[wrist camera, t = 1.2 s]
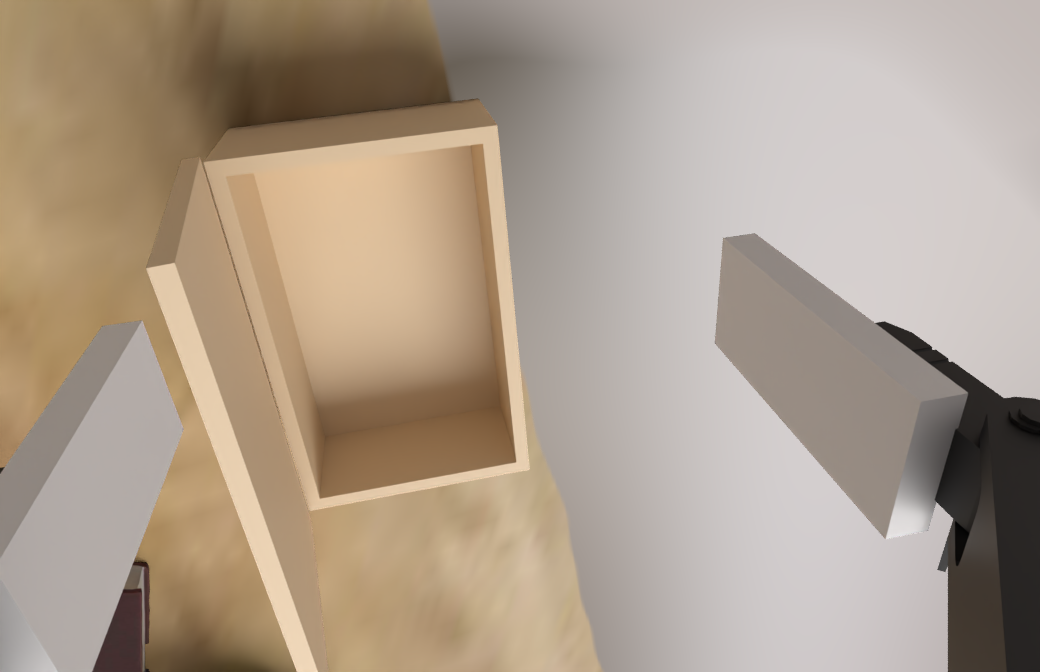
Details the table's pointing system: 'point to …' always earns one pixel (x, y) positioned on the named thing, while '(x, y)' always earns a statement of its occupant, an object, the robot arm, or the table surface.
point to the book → (128, 626)
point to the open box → (379, 294)
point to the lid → (238, 406)
